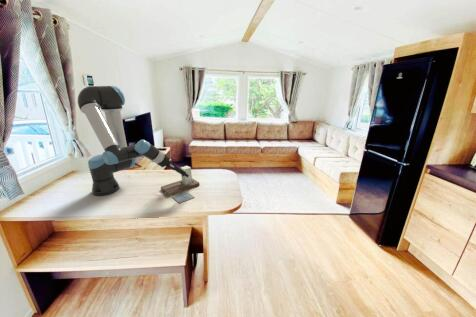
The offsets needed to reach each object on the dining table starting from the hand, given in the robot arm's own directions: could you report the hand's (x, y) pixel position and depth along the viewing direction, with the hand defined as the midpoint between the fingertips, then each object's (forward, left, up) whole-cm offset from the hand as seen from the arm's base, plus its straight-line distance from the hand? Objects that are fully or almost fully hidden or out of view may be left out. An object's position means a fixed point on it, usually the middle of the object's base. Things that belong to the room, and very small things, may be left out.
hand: (186, 175), depth 136 cm
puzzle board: (-2, -4, -8) cm, 9 cm away
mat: (+11, -9, -8) cm, 16 cm away
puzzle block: (-2, +1, -8) cm, 9 cm away
